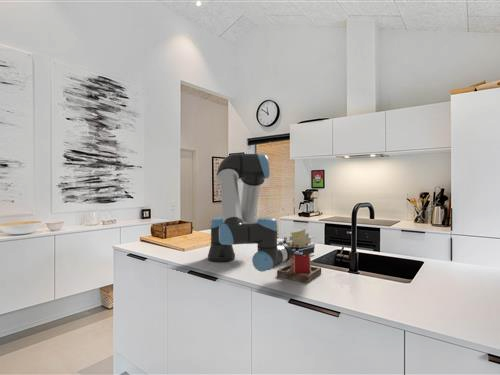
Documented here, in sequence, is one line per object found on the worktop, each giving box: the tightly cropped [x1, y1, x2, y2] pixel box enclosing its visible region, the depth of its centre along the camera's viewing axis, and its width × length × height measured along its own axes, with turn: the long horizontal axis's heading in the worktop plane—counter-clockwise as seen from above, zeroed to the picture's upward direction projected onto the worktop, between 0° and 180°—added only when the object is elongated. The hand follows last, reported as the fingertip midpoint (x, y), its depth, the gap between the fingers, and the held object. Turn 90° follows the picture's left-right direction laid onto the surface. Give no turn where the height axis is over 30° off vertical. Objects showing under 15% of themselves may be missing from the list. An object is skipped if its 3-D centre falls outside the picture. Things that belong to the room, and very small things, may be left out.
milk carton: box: [289, 228, 312, 275], centre depth 135 cm, size 9×9×20 cm
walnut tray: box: [276, 263, 322, 284], centre depth 135 cm, size 15×15×3 cm
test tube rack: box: [277, 232, 315, 264], centre depth 163 cm, size 25×4×13 cm, turn 128°
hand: (303, 244), depth 138 cm, fingers open, 10 cm apart
